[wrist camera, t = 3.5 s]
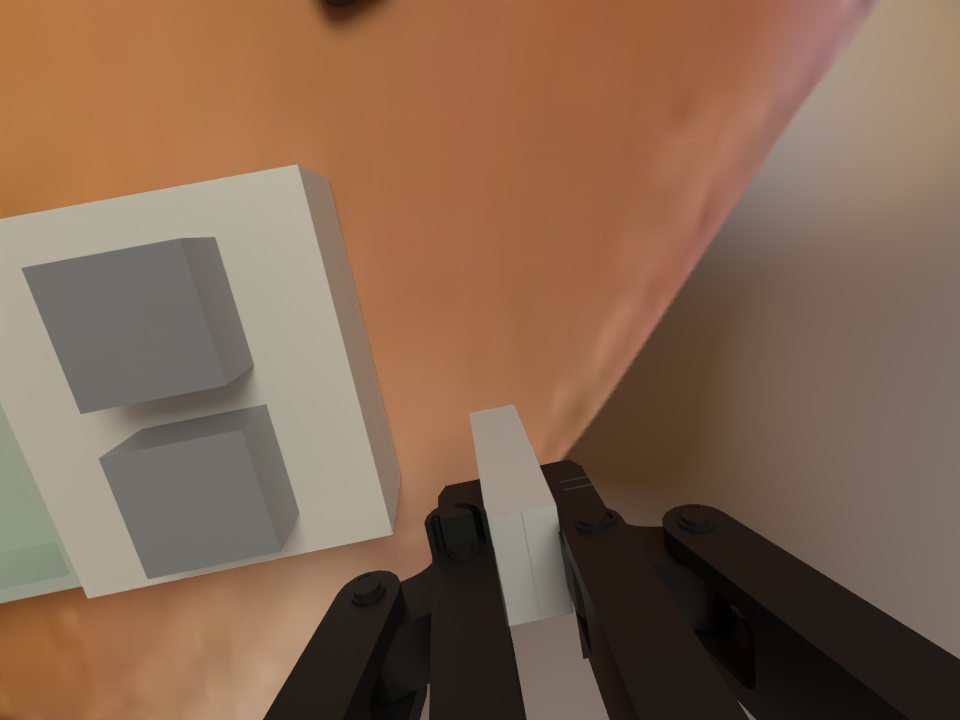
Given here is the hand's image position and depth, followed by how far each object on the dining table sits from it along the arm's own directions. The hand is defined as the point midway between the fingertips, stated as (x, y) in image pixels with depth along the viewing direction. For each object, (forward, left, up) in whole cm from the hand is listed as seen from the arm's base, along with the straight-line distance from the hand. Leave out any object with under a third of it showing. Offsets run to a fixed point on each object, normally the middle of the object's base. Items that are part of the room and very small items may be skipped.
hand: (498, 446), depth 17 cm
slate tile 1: (-10, 0, -2) cm, 10 cm away
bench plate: (-11, +3, -7) cm, 13 cm away
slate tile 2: (-10, +6, -2) cm, 12 cm away
